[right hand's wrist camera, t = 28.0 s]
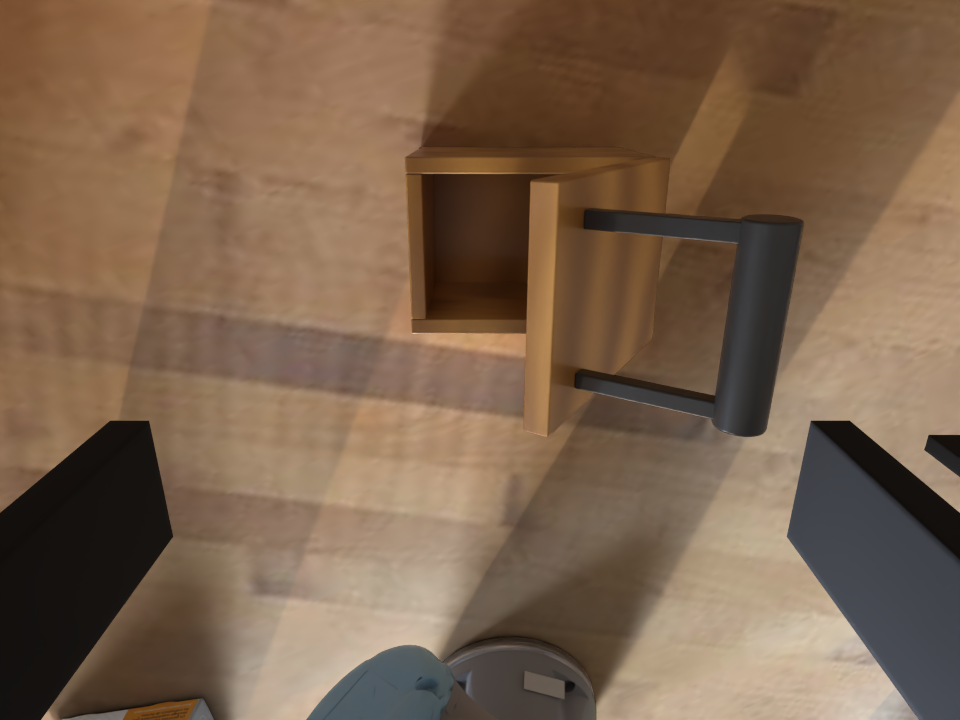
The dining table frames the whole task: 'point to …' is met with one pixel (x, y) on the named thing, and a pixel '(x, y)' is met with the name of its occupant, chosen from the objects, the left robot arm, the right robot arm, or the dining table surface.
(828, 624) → the dining table surface
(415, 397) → the dining table surface
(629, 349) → the lid
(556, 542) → the dining table surface
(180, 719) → the hard drive box
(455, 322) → the chest
